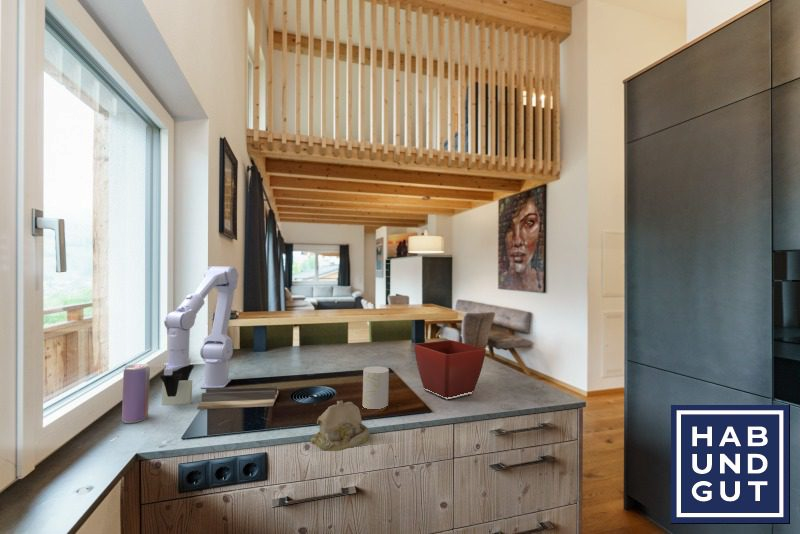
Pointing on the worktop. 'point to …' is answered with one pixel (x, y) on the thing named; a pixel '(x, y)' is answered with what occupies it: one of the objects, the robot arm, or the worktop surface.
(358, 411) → the ceramic model
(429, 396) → the worktop surface
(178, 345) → the robot arm
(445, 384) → the plant pot
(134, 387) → the beverage can
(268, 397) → the base
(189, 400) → the cream rectangular block
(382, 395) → the white cylinder
